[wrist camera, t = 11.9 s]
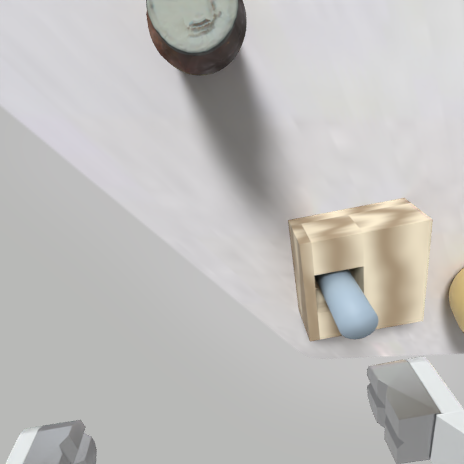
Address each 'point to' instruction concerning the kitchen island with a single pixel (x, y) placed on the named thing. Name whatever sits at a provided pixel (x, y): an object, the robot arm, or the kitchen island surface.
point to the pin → (347, 304)
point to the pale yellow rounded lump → (458, 298)
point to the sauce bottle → (197, 32)
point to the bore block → (363, 261)
